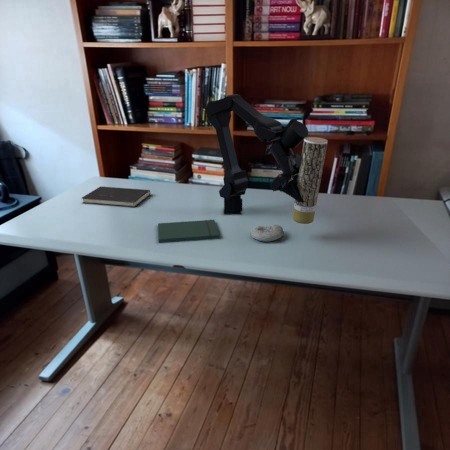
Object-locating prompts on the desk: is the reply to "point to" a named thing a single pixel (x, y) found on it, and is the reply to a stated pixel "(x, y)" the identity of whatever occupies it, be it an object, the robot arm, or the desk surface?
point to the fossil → (267, 233)
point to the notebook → (187, 231)
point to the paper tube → (309, 178)
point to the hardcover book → (116, 196)
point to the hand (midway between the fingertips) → (309, 200)
